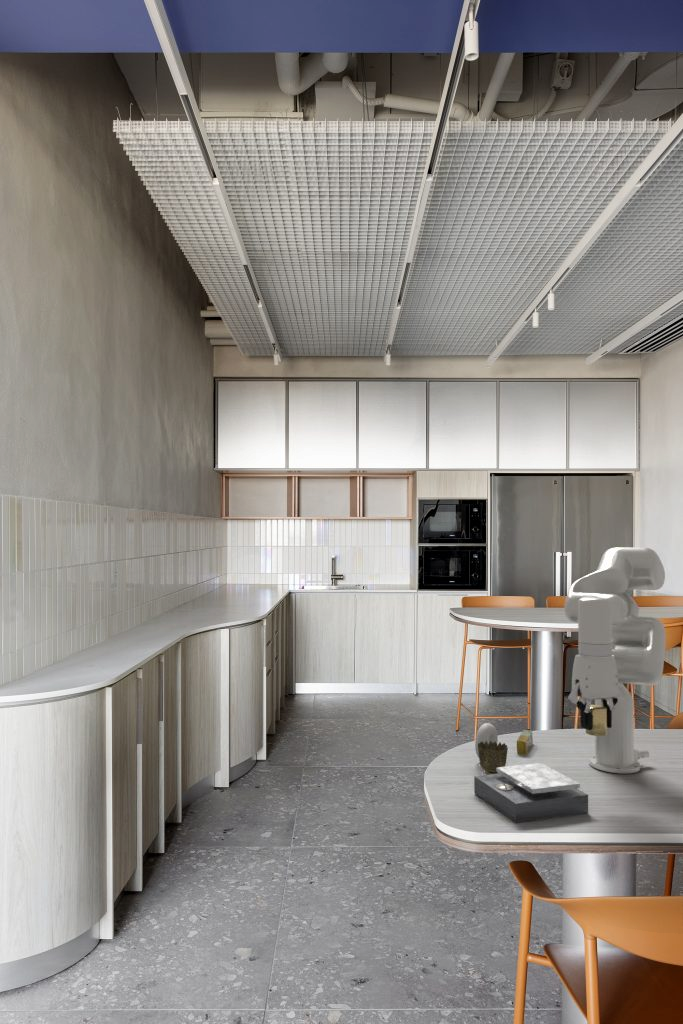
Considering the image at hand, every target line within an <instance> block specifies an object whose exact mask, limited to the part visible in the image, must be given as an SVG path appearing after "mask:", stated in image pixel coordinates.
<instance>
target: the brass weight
mask: <svg viewBox="0 0 683 1024" xmlns="http://www.w3.org/2000/svg"><path fill="white" fill-rule="evenodd" d="M589 712H590V713H591V714H592V729H591V730H587V729H585V733H586V734H587V735H589V736H594V737H595V736H605V735H607V707H605V706H601V705H595V704H591V706H590V710H589Z"/></svg>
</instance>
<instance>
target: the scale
mask: <svg viewBox="0 0 683 1024" xmlns="http://www.w3.org/2000/svg"><path fill="white" fill-rule="evenodd" d="M473 778H474V779H473V781H474V783H473V785H474V787H473V788H474V789H473V791H474V793H475V795H476V796H477V797H478V798H480V799H481V798H482V799H481V800H483V801H484V802H485V803H487V804H488V805H490V806H491V807H493V808H494V809H496V810H497V811H498V812H500V813H501V814H502V815H504V816H505V817H507V819H510V820H511V821H512V822H514V823H515V824H519V823H526V822H534V821H540V820H541V821H543V820H548V819H554V818H555V819H557V818H564V817H571V816H578V815H586V814H589V794H587V793H585V792H584V791H582V790H581V789H580V788H578V789H569V790H561V791H552V792H544V793H536V794H532V793H530V792H528V791H527V790H525V789H524V788H522V787H520V786H519V785H517V784H515V783H514V782H512V781H511V780H509V779H507V778H506V777H504V776H502V775H501V774H490V775H486V774H482V775H474V777H473Z"/></svg>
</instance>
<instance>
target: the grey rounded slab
mask: <svg viewBox="0 0 683 1024" xmlns="http://www.w3.org/2000/svg"><path fill="white" fill-rule="evenodd" d="M474 741H475V742H474V743H475V753H476V756H477V757H478V759H479V753H478V743H479V744H480V742H481V741H482V742H483V743H484V744H485V742H486V741H487V743H488V745H489V743H490V741H492V742H493V743H494V741H495V742H496V743H497V744H498V732H497V729H496V727H495V726H494V725H493V724H492V723H490V722H484V723H483V724H482V725H480V726H479V728H478V730H477V733H476V737H475V740H474Z"/></svg>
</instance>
